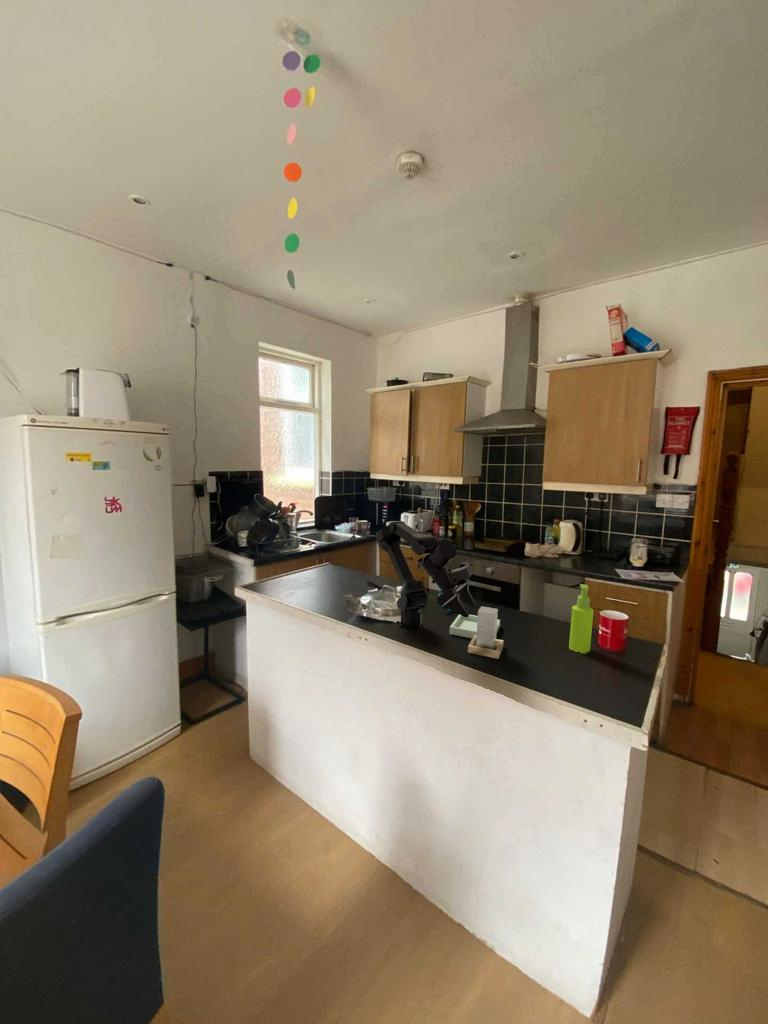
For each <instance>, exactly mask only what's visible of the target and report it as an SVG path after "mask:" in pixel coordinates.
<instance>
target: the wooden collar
mask: <svg viewBox="0 0 768 1024" xmlns="http://www.w3.org/2000/svg"><path fill="white" fill-rule="evenodd" d="M476 639H477V635H474V637H473V638H471V640H470V642H469V644H468V646H467V653H468V654H473V655H477V656H483V657H487V658H492V659H497V660H498V659H499V658H500V656H501V653H502V651H503V648H504V640H503V639H497V638H496V648H495V650H492V649H487V648H482V647H477V646H476Z"/></svg>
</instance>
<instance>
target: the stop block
mask: <svg viewBox="0 0 768 1024" xmlns="http://www.w3.org/2000/svg"><path fill="white" fill-rule="evenodd" d="M498 614H499V608H493V607H488V606H482V605H481V606H480V607H479V609H478V610H477V616H478V620H477V639H476V645H475V646H477V647H482V648H487V649H492V650H496V649H497V647H496V639H497V634H496V632H497V619H498V616H499V615H498ZM497 633H498V632H497Z"/></svg>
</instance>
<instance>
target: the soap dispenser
mask: <svg viewBox="0 0 768 1024" xmlns="http://www.w3.org/2000/svg"><path fill="white" fill-rule="evenodd" d="M579 587H580V589H581V590H580V594H579V595H578V596H577V601H576V605H575V604H574V605H573V606H572V607H571V619H570V630H569V631H570V632H569V641H568V642H569V643H568V648H569V650H570V651H572V650H573V652H574V651H575V653H577V652H580V653H579V654H587V653H586V652H589V651H591V641H592V631H593V630H592V629H593V622H594V621H593V619H594V609H593V608H592V607H590V602H591V598H590V596H588V591H589V586H588V584H585V583H584V584H583V583H580V584H579ZM589 653H590V652H589Z"/></svg>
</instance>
